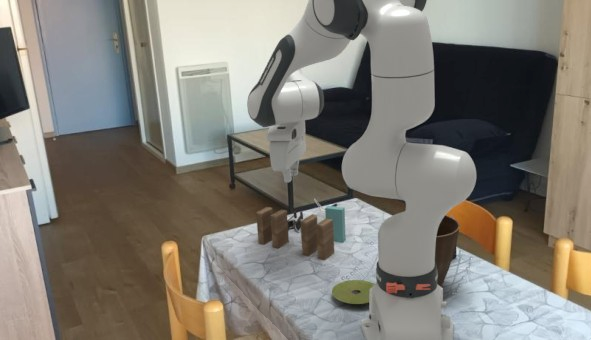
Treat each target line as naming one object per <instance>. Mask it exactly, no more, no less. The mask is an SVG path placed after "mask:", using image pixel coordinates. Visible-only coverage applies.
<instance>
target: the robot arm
mask: <svg viewBox="0 0 591 340" xmlns="http://www.w3.org/2000/svg"><path fill="white" fill-rule="evenodd" d="M427 1H428V0H308V2H307V4H306V7H305V10H304V12H303V15H302V17H301V18H300V20H299V21H298V23H297V24H296V25H295V27H293V28H292V30H290V32H288V33H287V34H286V35H285V36H284V37H282V38H281V39H280V40H279V41H278V42H277V44H276V46H275V48H274V50H273V52H272V53H271V56H270V58H269V60H268V62H267V64H266V66H265V68H264V70H263V71H262V73H261V75H260V77H259V79H258V81H257V83H256V84H255V85H254V86H253V87H252V89H251V91H250V92H249V94H248V97H247V101H246V103H247V112H248V116H249V118H250V119H251V120H252V121H253V122H254V123H256V124H257V125H258V126H260V127H262V128H268V127H269V128H268V130H267V133H266V140H267V142H269V145H268V146H269V147H268V148H269V160H270V166H271V169H272V171H273V172H281V173H282V176H283V181H284V183H290V182H292V179H293V177H296V176H297V175H298V174H299V166H300V165H299V164H300V158H301V157H303V155H304V154H305V153H306V150H307V144H306V143H307V142H306V121H307V120H308V121H309V120H312V119H313V120H314V119H315V118H318V116H320V115H321V113H322V111H323V109H324V106H325V96H324V91H323V88H322V87H321V86H320V85H319V84H318V83H317V82H315V81H314V80H310V79H308V78H307V77H306V76H305V75H304V74H303V73H302V69H304V68H306V67H309V66H311V65H312V66H313V65H316V64H318V63H322V62H326V61H330V60H332V59H334V58H336V57H338V56H339V55H341V54H342V53H343V52H344V50H345V49H346V48H347V47H348V46H349V44H350V42H351V41H355V40H356V39H357V38H358V37H359V36H361V35H362V37H364V38H365V40H366V41H367V43H368V46H369V50H370V74H371V75H370V76H371V115H370V119H369V122H368V125H367V127H366V130H365V131H364V133H363V134H362V136H361V137H360V138H359V139H357V140H356V142H354V143H352V144H351V145H350V146H349V147H348V149H347V150H346V152H345V153H344V155H343V158H342V163H341V175H342V178H343V180H344V182H345V184H346V186H347V187H348V188H349V189H351V190H354V191H357V192H359V193H362V194H364V195H368V196H371V197H379V198H384V199H385V198H386V199H392V200H393V199H394V200H400V201H404V202H405V210H404V211H402V212H398V213H396V214H393V215H391V216H389V217H387V218H386V219H385V220H384V221H383V222H382V223H381V224H380V225H379V228H378V230H377V231H378V232H377V242H378V243H377V245H378V246H377V248H378V250H377V251H378V255H377V256H378V259H377V262H376V268H375V276H376V282H375V283H374V284H375V285H374V286H373V287H372V288H371V289H370V293H369V302H368V303H369V307H368V308H369V310H368V312H369V315H368V316H369V317H367V318H364V319H362V320H360V329H361V332H362V334H363V337H364V339H365V340H454V322H453V320H451V317H450V316H448V315H447V314H444V313H443V309H447V306H448V305H447V303H448V302H447V301H446V300H443V299H444V297H443V296H444V288H443V287H442V286H439V285H438V284H437V278H438V272H437V265H436V263H435V246H436V236H437V231H438V227H439V225H440V222H441V221H442V219H443V218H444V216H445V215H447V214H448V213H449V212H450V211H451V210H452V209H453V208H455V207H457V206H458V205H460V204H462V203H463V202H465V200H467V199H468V198H469V197H470V196H471V194H472V192H473V191H474V188H475V186H476V183H477V169H476V165H475V163H474V160H473V159H472V157H471V155H470V154H469V153H468V152H466V151H464V150H461V149H458V148H453V147H450V146H447V145H443V144H431V143H429V144H428V143H416V142H409V141H407V140H406V139H407V138H406V133H407V131H408V130H410V129H413V128H415V127H417V126H419V125H421V124H423V123H425V122H426V121H427V120H428V119H429V118H430V117H431V116H432V114H433V112H434V110H435V106H436V105H435V103H436V102H435V101H436V99H435V98H436V97H435V63H434V62H435V60H434V59H435V58H434V49H433V41H432V36H431V30H430V24H429V22H428V19H427V16H426V15H425V13H424V12H423V11H424V9H425V8H426V4H427Z"/></svg>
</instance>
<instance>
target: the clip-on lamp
mask: <svg viewBox="0 0 591 340" xmlns="http://www.w3.org/2000/svg"><path fill="white" fill-rule="evenodd" d="M313 200H314V202H315V204H316V205H317V206H318V208H319V212H317V214H314V213H311V214H310V215H312V216H317V224H318V223H320V222H321V221H323V220H324V219H326V215H325V208H326V207H325V208H324V207H323V206H322V205H321V204H320V203H319V202H318V200H317V199H316V198H314V199H313ZM340 204H341V203H337V202H336V203H334V204H332V205H331V206H335V207H339V206H340ZM321 209H323V210H321ZM287 220H288V230H290V229H292V228H294V229H295V231H296V232H297V233H299V234H301V231H299V230H300V229H301V221H302V220H304V214H303V211H302V210H301V211H300V212H299V216H298V215H297V211H296V210H295V211H293V215H292V216H291V217H290V218H289V219H287Z"/></svg>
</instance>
